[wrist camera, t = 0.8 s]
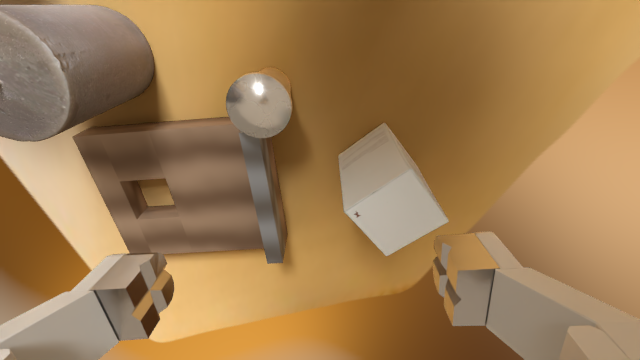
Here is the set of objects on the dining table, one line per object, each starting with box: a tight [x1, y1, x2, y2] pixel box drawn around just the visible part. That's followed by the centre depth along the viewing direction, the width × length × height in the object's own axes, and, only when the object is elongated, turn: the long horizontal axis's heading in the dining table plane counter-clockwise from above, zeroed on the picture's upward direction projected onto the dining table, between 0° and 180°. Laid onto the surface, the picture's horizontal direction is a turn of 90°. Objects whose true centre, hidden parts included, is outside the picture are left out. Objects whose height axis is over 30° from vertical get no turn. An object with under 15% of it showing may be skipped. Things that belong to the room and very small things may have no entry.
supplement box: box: [338, 123, 449, 256], centre depth 35 cm, size 7×7×13 cm
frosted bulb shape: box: [226, 67, 292, 138], centre depth 33 cm, size 6×6×8 cm
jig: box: [73, 117, 287, 264], centre depth 40 cm, size 18×22×6 cm
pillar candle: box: [0, 5, 154, 141], centre depth 28 cm, size 10×10×15 cm
